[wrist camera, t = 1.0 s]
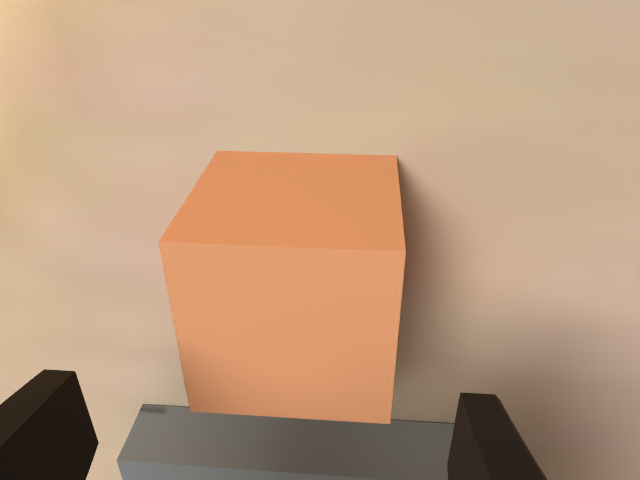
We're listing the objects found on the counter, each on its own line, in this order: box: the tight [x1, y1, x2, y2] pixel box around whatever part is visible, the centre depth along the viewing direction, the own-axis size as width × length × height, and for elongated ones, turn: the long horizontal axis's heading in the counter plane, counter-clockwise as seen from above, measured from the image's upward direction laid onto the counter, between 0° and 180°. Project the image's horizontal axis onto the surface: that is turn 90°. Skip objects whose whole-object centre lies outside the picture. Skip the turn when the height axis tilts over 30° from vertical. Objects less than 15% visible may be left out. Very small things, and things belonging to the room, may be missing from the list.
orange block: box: [159, 151, 406, 424], centre depth 14 cm, size 5×5×5 cm
